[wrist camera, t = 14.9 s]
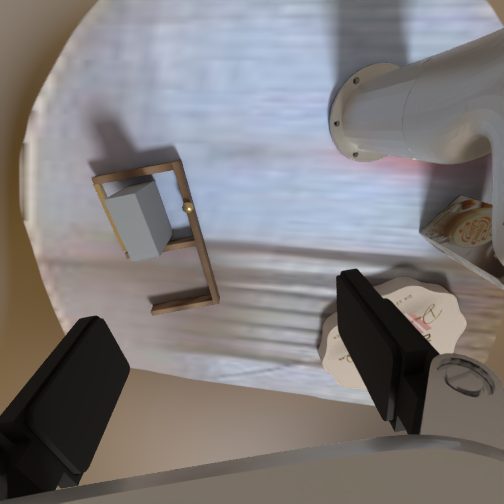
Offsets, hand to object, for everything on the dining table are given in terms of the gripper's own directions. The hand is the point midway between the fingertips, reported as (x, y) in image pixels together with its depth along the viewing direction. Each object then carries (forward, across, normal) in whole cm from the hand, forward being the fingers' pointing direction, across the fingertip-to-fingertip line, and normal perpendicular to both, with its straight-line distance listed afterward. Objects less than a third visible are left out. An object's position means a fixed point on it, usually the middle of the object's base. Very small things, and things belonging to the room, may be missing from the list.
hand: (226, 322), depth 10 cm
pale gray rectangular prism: (+33, +14, +3) cm, 36 cm away
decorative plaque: (+34, -27, +40) cm, 59 cm away
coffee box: (+34, -37, +15) cm, 52 cm away
